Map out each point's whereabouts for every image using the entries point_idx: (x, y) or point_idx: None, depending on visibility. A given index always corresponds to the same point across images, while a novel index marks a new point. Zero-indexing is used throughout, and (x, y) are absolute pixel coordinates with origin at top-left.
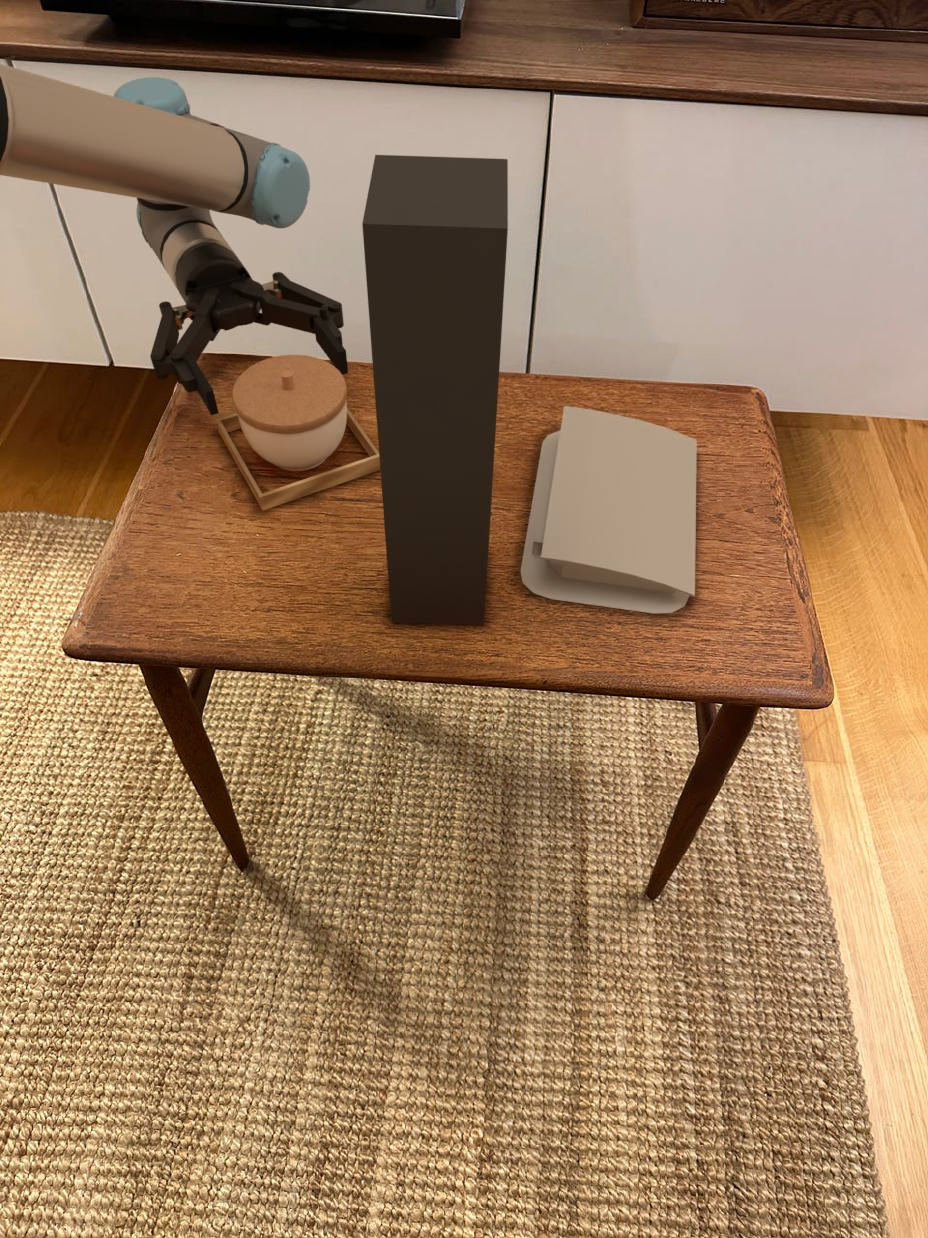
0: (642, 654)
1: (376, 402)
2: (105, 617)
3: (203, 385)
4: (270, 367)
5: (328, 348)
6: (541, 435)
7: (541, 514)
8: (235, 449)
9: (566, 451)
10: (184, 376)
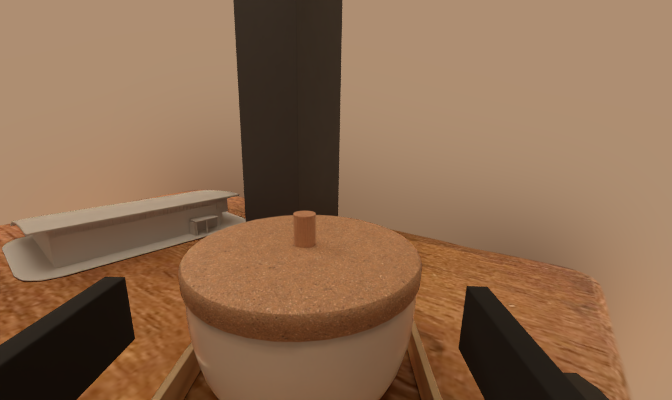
0: (237, 202)
1: (341, 26)
2: (575, 281)
3: (496, 304)
4: (305, 281)
5: (65, 365)
6: (42, 284)
7: (176, 240)
8: (428, 374)
9: (115, 215)
10: (592, 394)
